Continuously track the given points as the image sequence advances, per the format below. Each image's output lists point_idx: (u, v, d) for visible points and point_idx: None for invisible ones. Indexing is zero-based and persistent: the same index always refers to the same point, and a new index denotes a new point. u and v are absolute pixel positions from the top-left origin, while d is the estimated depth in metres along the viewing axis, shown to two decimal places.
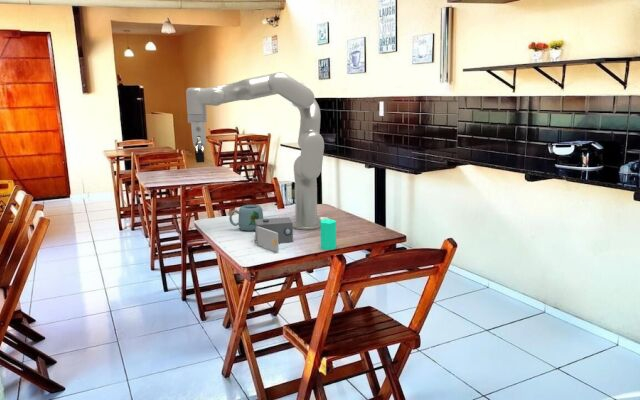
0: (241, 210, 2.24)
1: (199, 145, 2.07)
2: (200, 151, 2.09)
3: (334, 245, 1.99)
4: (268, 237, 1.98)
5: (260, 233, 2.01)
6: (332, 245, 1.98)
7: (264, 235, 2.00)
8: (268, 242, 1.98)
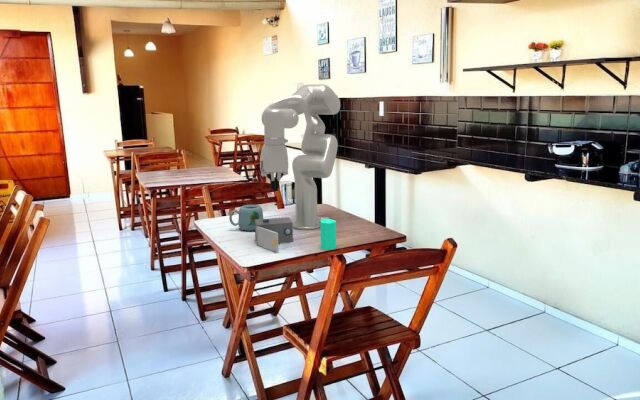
0: (241, 210, 2.24)
1: None
2: None
3: (334, 245, 1.99)
4: (268, 237, 1.98)
5: (260, 233, 2.01)
6: (332, 245, 1.98)
7: (264, 235, 2.00)
8: (268, 242, 1.98)
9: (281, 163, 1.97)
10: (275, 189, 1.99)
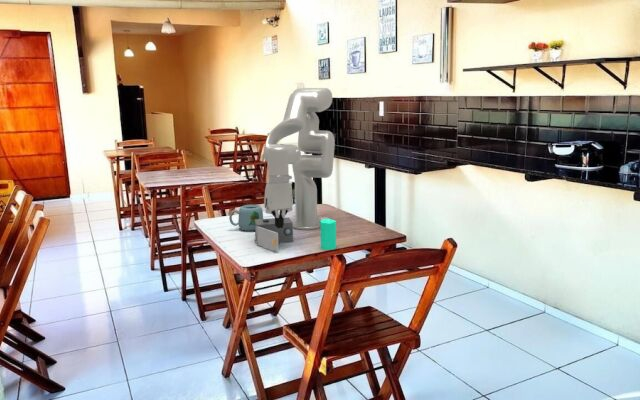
0: (241, 210, 2.24)
1: None
2: None
3: (334, 245, 1.99)
4: (268, 237, 1.98)
5: (260, 233, 2.01)
6: (332, 245, 1.98)
7: (264, 235, 2.00)
8: (268, 242, 1.98)
9: (285, 200, 1.97)
10: (280, 226, 1.98)
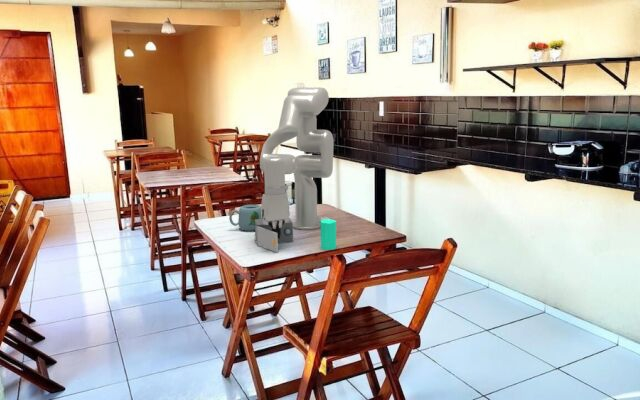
0: (241, 210, 2.24)
1: None
2: None
3: (334, 245, 1.99)
4: (268, 237, 1.98)
5: (260, 233, 2.01)
6: (332, 245, 1.98)
7: (264, 235, 1.99)
8: (268, 242, 1.98)
9: (282, 211, 1.96)
10: None
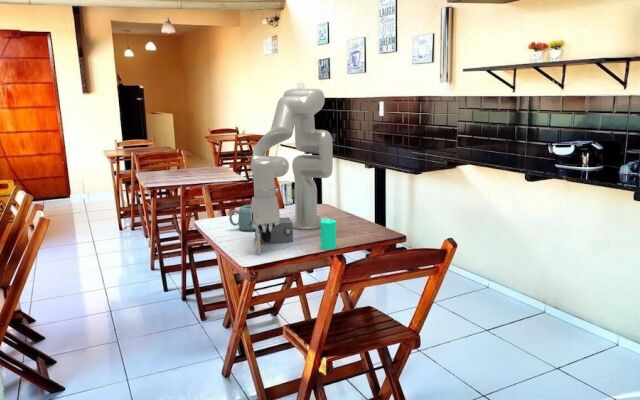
0: (241, 210, 2.24)
1: None
2: None
3: (334, 245, 1.99)
4: (257, 238, 1.96)
5: None
6: (332, 245, 1.98)
7: None
8: None
9: (272, 214, 1.93)
10: (267, 240, 1.95)
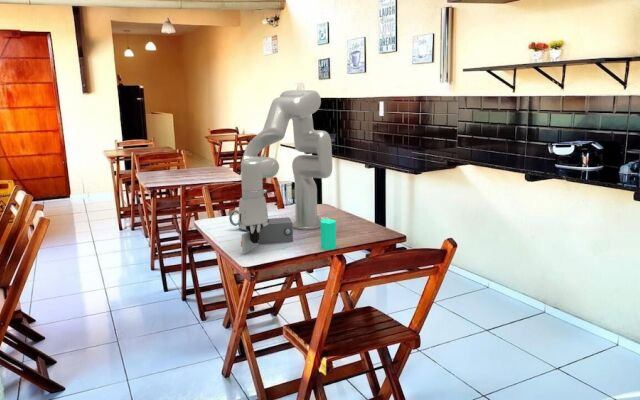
0: None
1: None
2: None
3: (334, 245, 1.99)
4: None
5: None
6: (332, 245, 1.98)
7: None
8: None
9: (260, 215, 1.92)
10: (255, 241, 1.93)
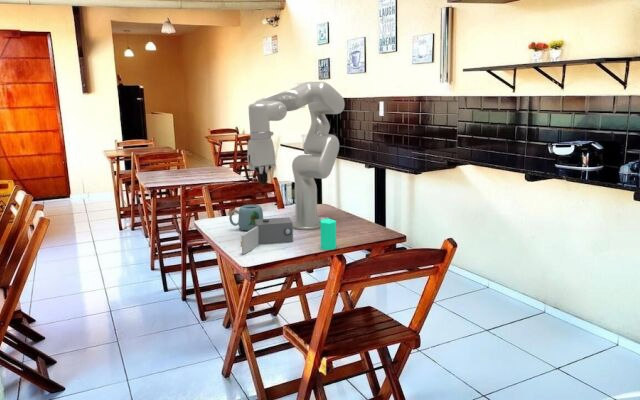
0: (241, 210, 2.24)
1: None
2: None
3: (334, 245, 1.99)
4: None
5: None
6: (332, 245, 1.98)
7: None
8: None
9: (268, 156, 2.00)
10: (264, 182, 2.03)
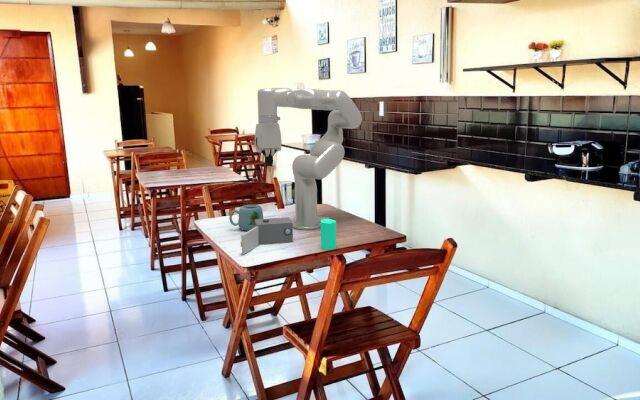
0: (241, 210, 2.24)
1: None
2: None
3: (334, 245, 1.99)
4: None
5: None
6: (332, 245, 1.98)
7: None
8: None
9: (274, 140, 2.10)
10: (269, 164, 2.11)
